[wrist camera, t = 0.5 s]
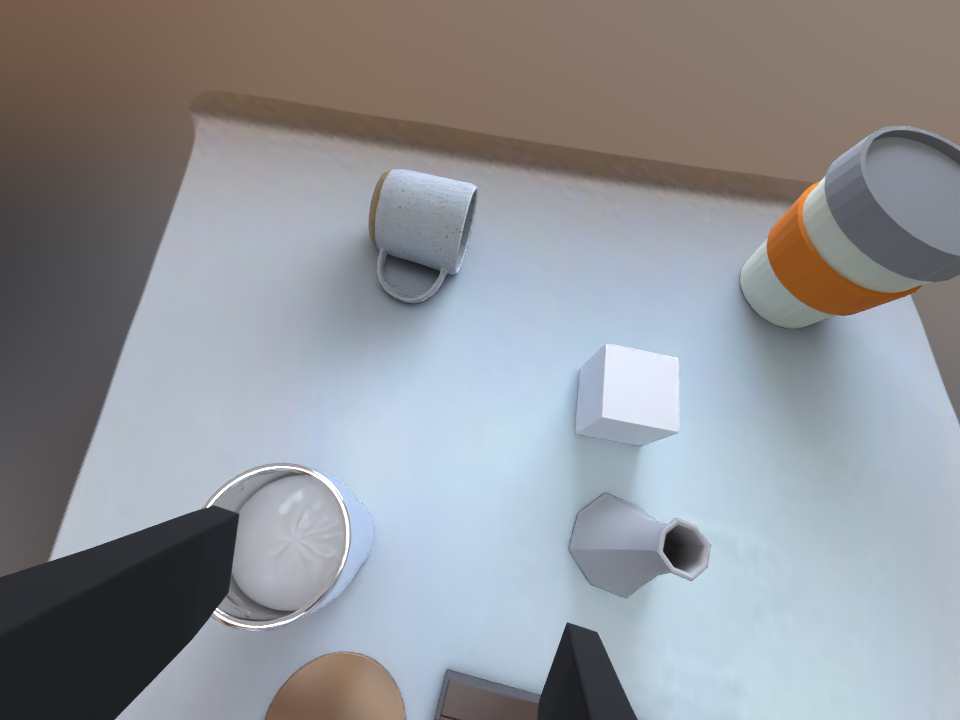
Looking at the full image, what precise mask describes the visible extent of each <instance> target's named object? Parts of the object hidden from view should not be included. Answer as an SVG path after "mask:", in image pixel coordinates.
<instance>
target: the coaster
mask: <svg viewBox="0 0 960 720" xmlns="http://www.w3.org/2000/svg"><path fill="white" fill-rule="evenodd" d="M265 720H406V717H405V708H404V704H403V700H402V697H401V694H400V691H399V689H398V687H397V685H396V683H395V681H394V680H393V678H392V677H391V675H390V674H389V673H388V672H387V671H386V670H385V669H384V668H383V667H382V666H381V665H380V664H379V663H377V662H376V661H374V660H372V659H371V658H369V657H367V656H364V655H361V654H357V653H352V652H339V653H332V654H328V655H324V656H322V657H319V658H317V659H315V660H313V661H311V662H309V663H307V664H306V665H305V666H303V667H302V668H300V669H299V670H298V671H297V672H296V673H295V674H293V675H292V676H291V677H290V678H289V680H288V681H287V682H286V683H285V684H284V685H283V686H282V688H281V689H280V691H279V692H278V693H277V695H276V696H275V698H274V700H273V702H272V704H271V705H270V707H269V710H268V712H267V714H266V717H265Z"/></svg>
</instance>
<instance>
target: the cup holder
mask: <svg viewBox="0 0 960 720" xmlns="http://www.w3.org/2000/svg"><path fill="white" fill-rule="evenodd" d="M540 697H541V695H538V694H534V693H531V692H527V691H524V690H520V689H516V688H513V687H509V686H506V685H502V684H498V683H495V682H491V681H487V680H484V679H480V678H477V677H473V676H469V675H466V674H462V673H459V672H455V671H451V670H447V671H446V674H445V679H444V683H443V687H442V691H441V695H440V699H439V704H438V707H437V711H436V715H435V719H434V720H537V718H538V707H539V700H540Z"/></svg>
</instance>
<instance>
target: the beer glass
mask: <svg viewBox="0 0 960 720" xmlns="http://www.w3.org/2000/svg"><path fill="white" fill-rule="evenodd" d="M213 505H215V506H218V507H221V508H224V509H227V510H230V511H233V512H236V513H239V521H238V529H237V536H236V543H235V551H234V558H233V565H232V573H231V580H230V588H229V593H228V594H227V596H226V597H225V598H224V599H223V601H222V602H221V603H220V605H219V606H218V607H217V609H216V610H215V611H214V613H213V614H212V615H211V617H212V618H214V619H215V620H217V621H218V622H220V623H222V624H224V625H226V626H228V627H231V628H234V629H238V630H243V631H268V630H273V629H277V628H281V627H284V626H286V625H289V624H291V623H293V622H295V621H297V620H299V619H301V618H303V617H306V616H308V615H310V614H312V613H314V612H316V611H317V610H319V609H321V608H322V607H324V606H325V605H327V604H328V603H330V602H331V601H332V600H333V599H335V598H336V597H337V596H338V595H339V594H340V593H341V592H342V591H343V590H344V589H345V588H346V586H347V585H348V584H349V583H350V582H351V580H352V579H353V577H354V576H355V574H356V573H357V571H358V569H359V568H360V567H361V566H362V565H363V564H364V562H365V561H366V559H367V558H368V556H369V554H370V552H371V549H372V546H373V542H374V534H375V532H374V523H373V519H372V517H371V514H370V513H369V511H368V509H367V508H366V507H365V505H364V504H363V503H362V502H360V501H359V500H358V498H357V497H356V495H355V494H354V493H353V492H352V491H351V490H350V489H349V488H348V487H347V486H346V485H345V484H344V483H343V482H341V481H340V480H339V479H337V478H335V477H334V476H332V475H329V474H327V473H325V472H322V471H320V470H316V469H312V468H308V467H305V466H301V465H297V464H290V463H274V464H267V465H262V466H258V467H255V468H252V469H250V470H247V471H245V472H243V473H241V474H239V475H237V476H236V477H234V478H232V479H231V480H229V481H228V482H227V483H225V484H224V485H223V486H222V487H221V488H219V489H218V490H217V491H216V492H215V493H214V494H213V495H212V497H211V498H210V499H209V500H208V501H207V502H206V504H205V505H204V507H203V508H202V509H204V508H207V507H210V506H213Z"/></svg>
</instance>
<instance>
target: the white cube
mask: <svg viewBox="0 0 960 720" xmlns="http://www.w3.org/2000/svg"><path fill="white" fill-rule="evenodd" d="M679 432H680V403H679V358H676V357H671V356H666V355H661V354H656V353H651V352H647V351H642V350H637V349H632V348H627V347H623V346H618V345H613V344H608V343H606V344H605V345H604V346H603V347H602V348H601V349H600V350H599V351H598V352H597V353H596V354H595V355H594V356H592V357H591V358H590V359H589V360H588V361H587V362H586V363H585V364H584V365H583V366H582V367H581V368H580V373H579V385H578V398H577V410H576V423H575V434H580V435H585V436H590V437H595V438H601V439H606V440H611V441H616V442H622V443H627V444H632V445H637V446H644V445H646V444H649V443H652V442H655V441H657V440H660V439H663V438H666V437H668V436H671V435H674V434H676V433H679Z"/></svg>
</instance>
